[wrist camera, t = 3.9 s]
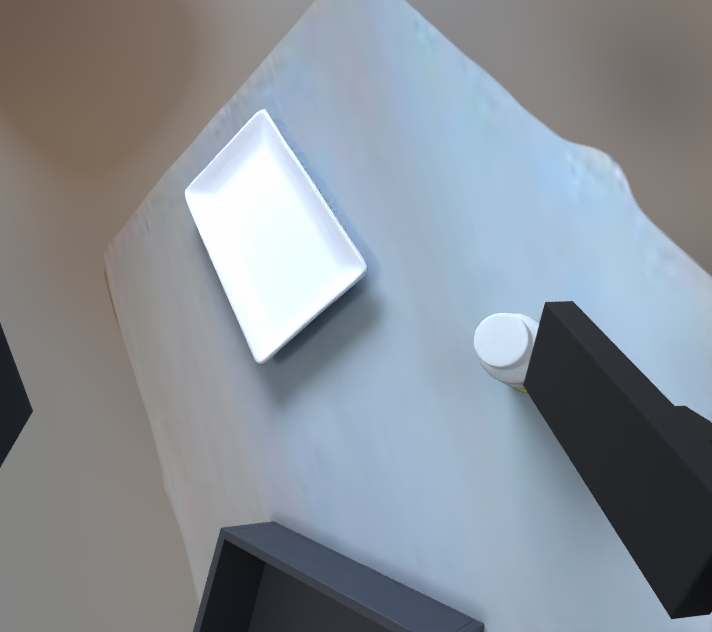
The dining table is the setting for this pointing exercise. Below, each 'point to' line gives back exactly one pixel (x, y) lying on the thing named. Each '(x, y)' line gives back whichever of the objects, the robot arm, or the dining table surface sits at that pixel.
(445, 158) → the dining table surface
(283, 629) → the bin
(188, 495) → the dining table surface
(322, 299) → the tray
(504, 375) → the supplement bottle
